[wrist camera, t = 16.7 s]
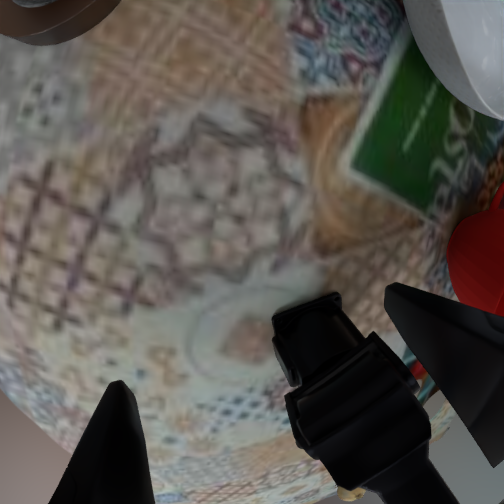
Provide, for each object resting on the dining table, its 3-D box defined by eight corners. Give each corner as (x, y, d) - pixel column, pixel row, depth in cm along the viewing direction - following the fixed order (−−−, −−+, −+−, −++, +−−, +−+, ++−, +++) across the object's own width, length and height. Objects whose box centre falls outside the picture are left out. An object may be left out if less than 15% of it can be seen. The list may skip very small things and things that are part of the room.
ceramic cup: (499, 149, 26) (567, 177, 17) (482, 269, 34) (532, 307, 26) (434, 163, 24) (522, 201, 15) (420, 305, 32) (475, 358, 24)
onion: (361, 476, 64) (372, 495, 58) (335, 489, 64) (345, 508, 58) (359, 470, 60) (371, 491, 54) (331, 485, 59) (342, 506, 53)
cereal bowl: (368, -83, 12) (422, -109, 6) (484, -8, 16) (533, -8, 10) (367, 82, 19) (438, 86, 13) (483, 125, 24) (536, 141, 18)
